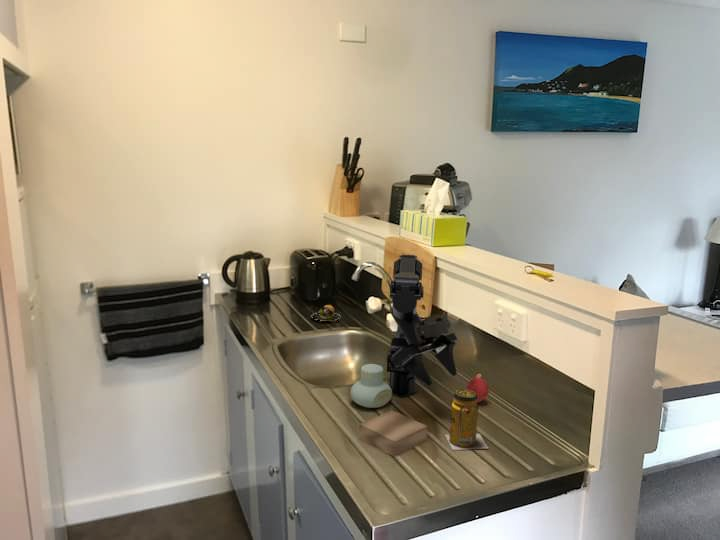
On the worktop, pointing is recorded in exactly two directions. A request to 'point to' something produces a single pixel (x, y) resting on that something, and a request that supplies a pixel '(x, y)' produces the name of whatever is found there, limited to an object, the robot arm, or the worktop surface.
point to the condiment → (464, 422)
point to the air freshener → (371, 387)
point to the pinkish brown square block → (393, 433)
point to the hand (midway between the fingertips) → (443, 379)
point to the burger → (327, 313)
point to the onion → (478, 387)
